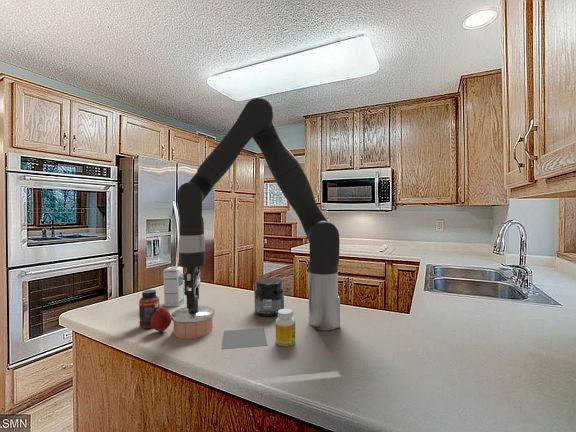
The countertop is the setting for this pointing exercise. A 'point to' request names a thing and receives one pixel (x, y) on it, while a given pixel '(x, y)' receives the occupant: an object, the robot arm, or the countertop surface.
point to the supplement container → (269, 297)
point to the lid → (193, 313)
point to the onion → (161, 319)
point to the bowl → (193, 329)
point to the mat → (244, 338)
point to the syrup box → (173, 286)
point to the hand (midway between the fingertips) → (193, 303)
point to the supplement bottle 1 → (147, 308)
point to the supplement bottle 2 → (285, 328)
